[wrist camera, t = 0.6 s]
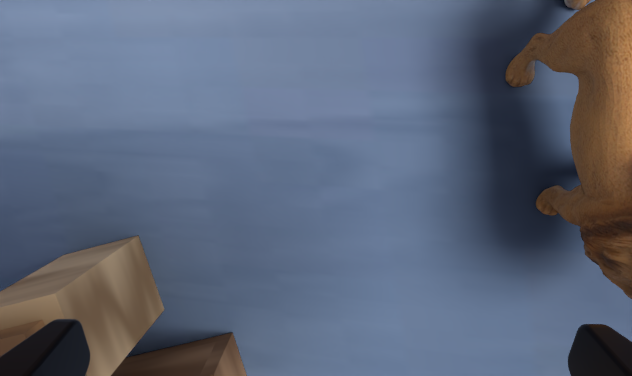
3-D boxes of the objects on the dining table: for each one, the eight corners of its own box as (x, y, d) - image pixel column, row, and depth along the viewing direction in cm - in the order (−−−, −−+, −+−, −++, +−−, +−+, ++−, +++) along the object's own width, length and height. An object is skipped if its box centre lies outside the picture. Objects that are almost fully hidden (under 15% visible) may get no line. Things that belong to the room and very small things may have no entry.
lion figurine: (670, 242, 22) (888, 338, 13) (558, 283, 23) (697, 401, 14) (570, -70, 20) (754, -201, 11) (449, -15, 21) (532, -98, 12)
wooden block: (164, 309, 24) (80, 413, 16) (91, 327, 24) (-26, 437, 17) (138, 235, 23) (37, 305, 16) (63, 255, 24) (-72, 333, 16)
